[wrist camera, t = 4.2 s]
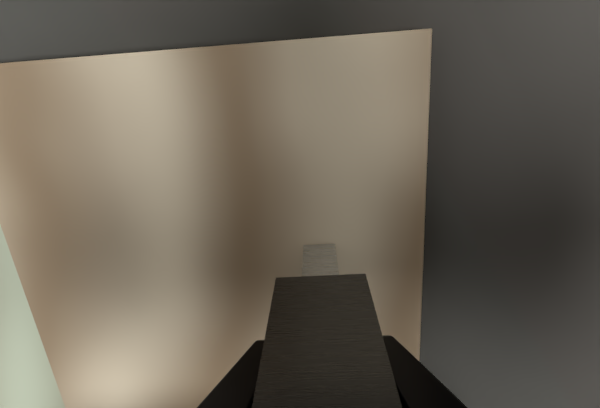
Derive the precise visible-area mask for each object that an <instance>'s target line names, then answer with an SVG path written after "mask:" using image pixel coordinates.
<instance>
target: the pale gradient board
mask: <svg viewBox="0 0 600 408" xmlns="http://www.w3.org/2000/svg"><path fill="white" fill-rule="evenodd" d="M431 44H432V28H431V29H419V30H406V31H394V32H381V33H369V34H357V35H344V36H332V37H320V38H307V39H295V40H282V41H270V42H258V43H245V44H233V45H221V46H208V47H196V48H183V49H171V50H159V51H146V52H134V53H122V54H109V55H97V56H84V57H72V58H60V59H47V60H35V61H23V62H10V63H0V408H197V407H198V406H199V404H200V403H201V402H202V401H203V400H204V399H205V398H206V397H207V395H208V394H209V393H210V392H211V391H212V390H213V389H214V387H215V386H216V385H217V384H218V383H219V382H220V381H221V379H222V378H223V377H224V376H225V375H226V374H227V373H228V372H229V370H230V369H231V368H232V367H233V366H234V365H235V364H236V362H237V361H238V360H239V359H240V358H241V357H242V356H243V355H244V353H245V352H246V351H247V350H248V349H249V348H250V347H251V345H252V344H253V343H254V342H255V341H257V340H264V339H265V334H266V328H267V323H268V318H269V312H270V307H271V301H272V296H273V290H274V285H275V280H276V278H279V277H301V276H302V263H303V245H317V244H335V248H336V256H337V263H338V270H339V275H346V274H366V277H367V281H368V285H369V288H370V292H371V296H372V299H373V303H374V307H375V310H376V314H377V318H378V321H379V325H380V329H381V332H382V335H391V336H393V337H394V338H395V339H396V340H397V341H398V342H399V343H400V344H402V345H403V346H404V347H405V348H406V349H407V350H408V351H409V352H410V353H411V354H412V355H413V356H414V357H415V358H416V359H417V360H418V361H419V359H420V333H421V307H422V281H423V254H424V228H425V202H426V176H427V149H428V123H429V97H430V71H431Z"/></svg>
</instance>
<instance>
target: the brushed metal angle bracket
mask: <svg viewBox="0 0 600 408" xmlns="http://www.w3.org/2000/svg"><path fill="white" fill-rule="evenodd" d="M252 408H402V405H401V402H400V398H399V394H398V391H397V387H396V383H395V380H394V376H393V372H392V369H391V365H390V361H389V358H388V354H387V350H386V347H385V343H384V340H383V336H382V332H381V329H380V325H379V321H378V318H377V314H376V310H375V307H374V303H373V299H372V296H371V292H370V288H369V285H368V281H367V277H366V274H346V275H339V270H338V263H337V256H336V248H335V244H317V245H303V263H302V276H301V277H279V278H276V280H275V285H274V290H273V296H272V301H271V307H270V312H269V318H268V323H267V328H266V334H265V339H264V345H263V350H262V356H261V361H260V366H259V372H258V377H257V383H256V388H255V393H254V399H253V404H252Z"/></svg>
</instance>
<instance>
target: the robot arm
mask: <svg viewBox="0 0 600 408" xmlns="http://www.w3.org/2000/svg"><path fill="white" fill-rule="evenodd" d="M382 336H383V340H384V343H385V347H386V350H387V354H388V358H389V361H390V365H391V369H392V372H393V376H394V380H395V383H396V387H397V391H398V394H399V398H400V402H401V405H402V408H467V407H466V406H465V405H464V404H463V403H462V402H461V401H460V400H459V399H458V398H457V397H456V396H455V395H454V394H453V393H452V392H450V391H449V390H448V389H447V388H446V387H445V386H444V385H443V384H442V383H441V382H440V381H439V380H438V379H437V378H436V377H435V376H434V375H433V374H432V373H431V372H430V371H429V370H428V369H427V368H425V367H424V366H423V365H422V364H421V363H420V362H419V361H418V360H417V359H416V358H415V357H414V356H413V355H412V354H411V353H410V352H409V351H408V350H407V349H406V348H405V347H404V346H403V345H402V344H400V343H399V342H398V341H397V340H396V339H395V338H394V337H393V336H391V335H382ZM263 345H264V340H257V341H255V342H254V343H253V344H252V345H251V347H250V348H249V349H248V350H247V351H246V352H245V353H244V355H243V356H242V357H241V358H240V359H239V360H238V361H237V362H236V364H235V365H234V366H233V367H232V368H231V369H230V370H229V372H228V373H227V374H226V375H225V376H224V377H223V378H222V379H221V381H220V382H219V383H218V384H217V385H216V386H215V387H214V389H213V390H212V391H211V392H210V393H209V394H208V395H207V397H206V398H205V399H204V400H203V401H202V402H201V403H200V404H199V406H198V407H197V408H252V404H253V399H254V393H255V388H256V383H257V377H258V372H259V366H260V361H261V356H262V350H263Z"/></svg>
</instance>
